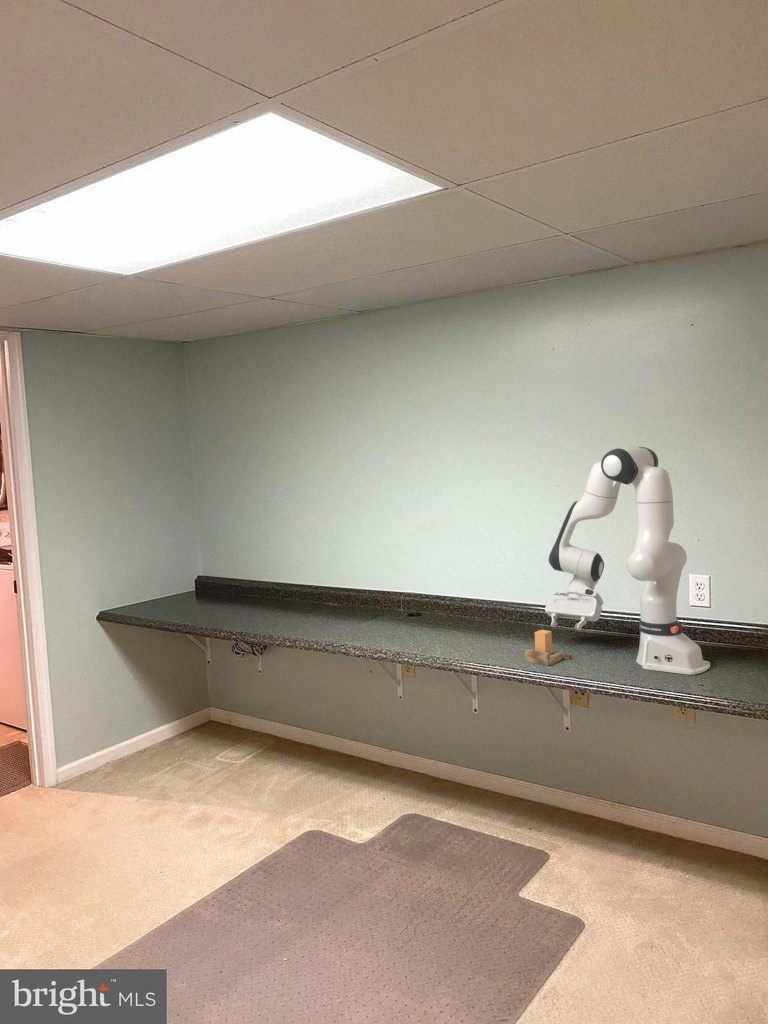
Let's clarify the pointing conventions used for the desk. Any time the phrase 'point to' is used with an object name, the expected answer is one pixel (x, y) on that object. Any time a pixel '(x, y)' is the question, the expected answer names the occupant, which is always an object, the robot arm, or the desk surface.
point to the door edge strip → (564, 655)
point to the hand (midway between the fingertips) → (565, 627)
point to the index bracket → (542, 657)
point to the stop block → (543, 641)
